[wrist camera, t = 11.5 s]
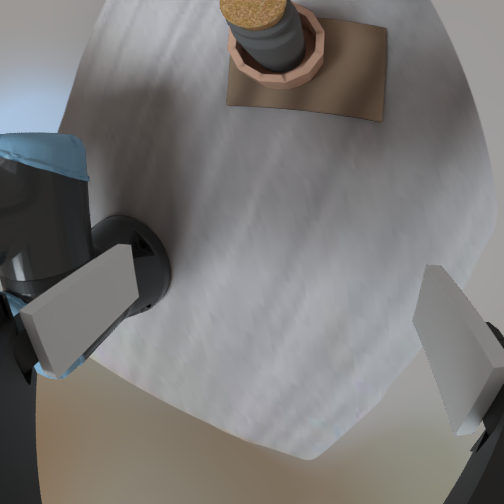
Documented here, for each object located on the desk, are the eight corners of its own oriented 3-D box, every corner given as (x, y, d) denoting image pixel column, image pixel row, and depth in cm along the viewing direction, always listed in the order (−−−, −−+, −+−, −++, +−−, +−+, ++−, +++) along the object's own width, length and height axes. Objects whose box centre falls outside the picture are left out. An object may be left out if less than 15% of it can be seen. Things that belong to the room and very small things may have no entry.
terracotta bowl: (237, 87, 33) (224, 80, 28) (243, 16, 29) (232, 1, 25) (321, 93, 31) (321, 86, 27) (325, 19, 28) (325, 3, 23)
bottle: (275, 19, 28) (246, -42, 15) (316, 47, 29) (312, -7, 15) (244, 54, 31) (195, 11, 17) (284, 83, 31) (258, 49, 17)
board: (228, 105, 35) (226, 105, 34) (236, 18, 30) (234, 15, 29) (380, 121, 32) (382, 121, 31) (384, 30, 27) (386, 28, 26)
